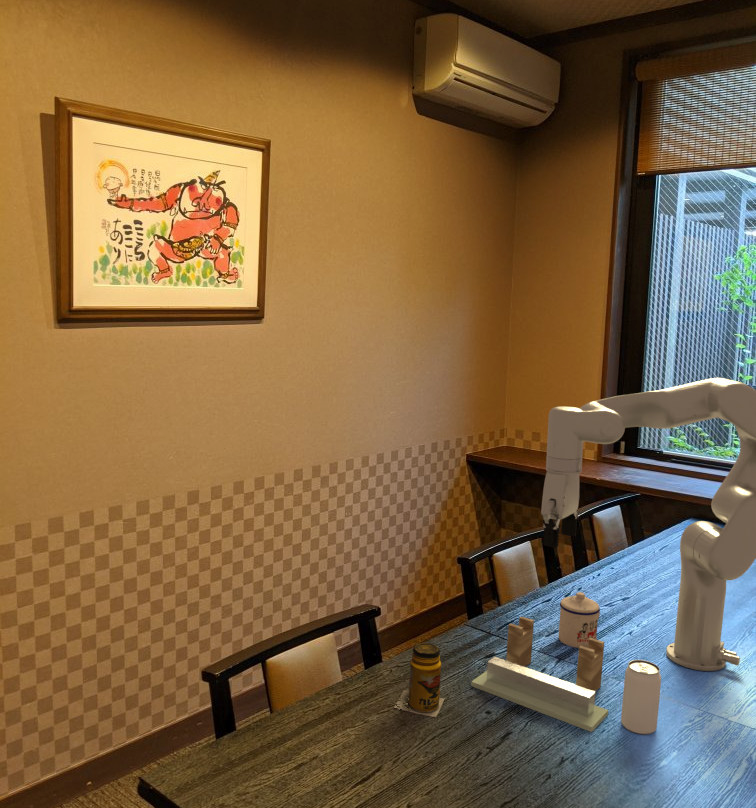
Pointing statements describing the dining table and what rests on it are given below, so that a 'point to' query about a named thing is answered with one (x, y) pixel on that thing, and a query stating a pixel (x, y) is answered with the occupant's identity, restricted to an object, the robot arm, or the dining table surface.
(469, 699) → the dining table surface
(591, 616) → the teacup with lid
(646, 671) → the can
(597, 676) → the post
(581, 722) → the mat
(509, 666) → the rail
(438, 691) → the condiment
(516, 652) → the post
